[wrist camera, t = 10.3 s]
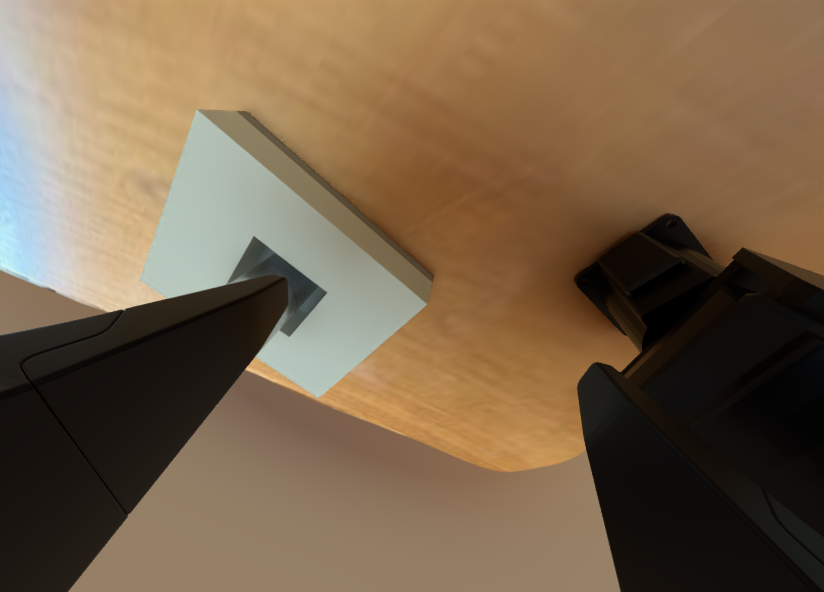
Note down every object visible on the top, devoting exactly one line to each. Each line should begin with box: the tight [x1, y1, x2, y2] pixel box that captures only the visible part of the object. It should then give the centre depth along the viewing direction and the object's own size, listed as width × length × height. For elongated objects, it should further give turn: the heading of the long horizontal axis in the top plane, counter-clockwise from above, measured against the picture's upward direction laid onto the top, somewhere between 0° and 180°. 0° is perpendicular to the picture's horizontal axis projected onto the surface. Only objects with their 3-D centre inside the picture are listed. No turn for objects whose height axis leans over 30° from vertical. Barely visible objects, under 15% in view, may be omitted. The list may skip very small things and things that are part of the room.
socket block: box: [140, 109, 433, 398], centre depth 22 cm, size 16×14×4 cm
